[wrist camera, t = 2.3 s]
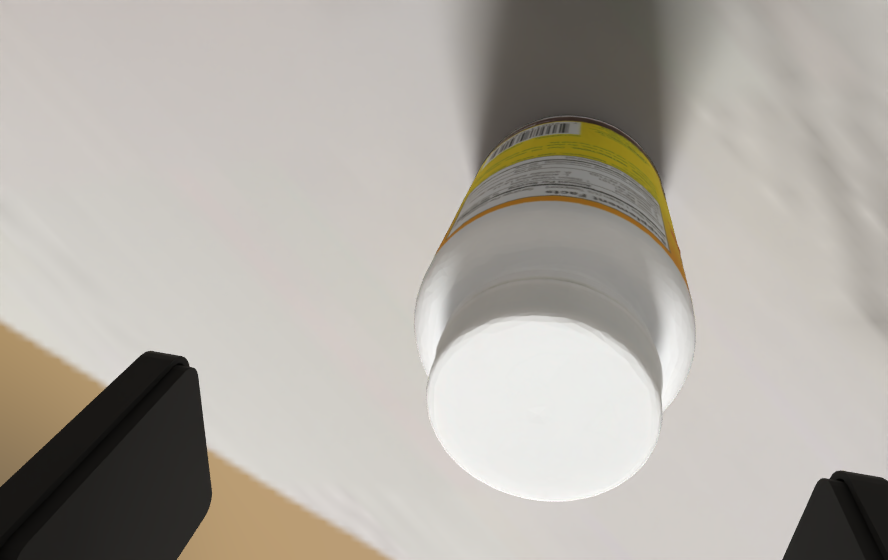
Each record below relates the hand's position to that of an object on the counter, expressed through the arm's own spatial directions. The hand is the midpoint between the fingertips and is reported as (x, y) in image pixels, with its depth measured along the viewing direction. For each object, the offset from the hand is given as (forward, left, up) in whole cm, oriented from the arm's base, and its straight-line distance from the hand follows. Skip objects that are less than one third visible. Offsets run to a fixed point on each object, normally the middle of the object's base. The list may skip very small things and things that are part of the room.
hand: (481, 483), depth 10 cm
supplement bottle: (-1, 0, -12) cm, 12 cm away
